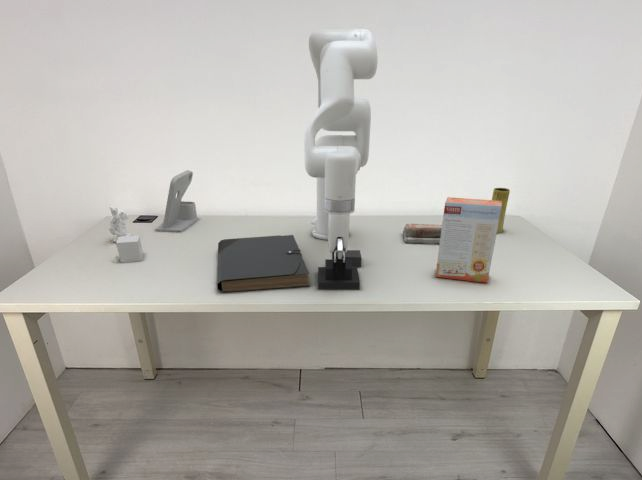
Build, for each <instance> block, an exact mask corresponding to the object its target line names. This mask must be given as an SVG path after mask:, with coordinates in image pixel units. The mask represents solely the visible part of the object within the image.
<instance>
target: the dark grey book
mask: <svg viewBox="0 0 642 480" xmlns="http://www.w3.org/2000/svg"><path fill="white" fill-rule="evenodd" d="M309 274H310V272H309V270H308V267H307V265H306V262H305V260H304V258H303V254H302V253H301V249H300V248H299V246H298V243H297V241H296V238H295V236H294V234H287V235H286V234H285V235H281V234H280V235H266V236H265V235H264V236H252V237H240V238H239V237H237V238H225V239H221V240H219V242H218V243H217V274H216V275H217V277H216V288H217V290H218V291H219V292H221V293H226V294H227V293H237V292H251V291H263V290H275V289H276V290H277V289H289V288H290V289H291V288H302V287H310V284H309Z"/></svg>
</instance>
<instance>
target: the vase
mask: <svg viewBox="0 0 642 480" xmlns="http://www.w3.org/2000/svg"><path fill="white" fill-rule="evenodd" d="M510 192H511V190H510V188H507V187H494V188H493V191H492V196H491V200H494V201H502V208H501V213H500V218H499V223H498V229H497V234H500V233H503V231H504V223H505V217H506V211H507V206H508V202H509V197H510Z"/></svg>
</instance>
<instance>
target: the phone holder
mask: <svg viewBox="0 0 642 480" xmlns="http://www.w3.org/2000/svg"><path fill="white" fill-rule="evenodd" d="M193 176H194V172H193V171H191V170H189V169H186V170H185V171H183V172H181V173H179V174H176V175H174V176H173V177H172V178H171V180H170V183H169V188H168V193H167V201H166V205H165V210H164V217H163V222H162V224H160V225H158V226H157V227H155V230H156V231H157V232H166V233H167V232H168V233H182V232H184V231H186V230H187V229H188V228H189V227H191V226H192V225H194V223H196V222H197V221H198V220H199V217H198V214H197V207H196V206H197V205H196V203H195V201H185V200H182V199H183V197H184V195H185V193H186V192H187V190H188V188H189V186H190V185H191V183H192V180H193Z"/></svg>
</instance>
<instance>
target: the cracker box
mask: <svg viewBox="0 0 642 480" xmlns="http://www.w3.org/2000/svg"><path fill="white" fill-rule="evenodd" d="M444 202H445V203H444V209H443V215H442V224H441V225H442V230H441V238H440V243H439V246H438V253H437V262H436V270H435V278H440V279H441V278H442V279H449V280H450V279H451V280H459V281H467V282H475V283H482V284H487V283H488V281H489V276H490V271H491V265H492V260H493V254H494V249H495V245H496V240H497V234H498V233H497V229H498V223H499V218H500V213H501V208H502V201H494V200H492V199H480V198H479V199H478V198H467V197H466V198H464V197H452V196H451V197H450V196H448V197H447V198H446V200H445V201H444Z"/></svg>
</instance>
